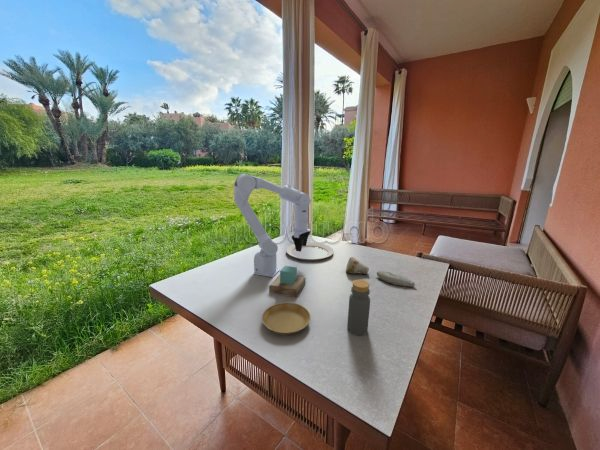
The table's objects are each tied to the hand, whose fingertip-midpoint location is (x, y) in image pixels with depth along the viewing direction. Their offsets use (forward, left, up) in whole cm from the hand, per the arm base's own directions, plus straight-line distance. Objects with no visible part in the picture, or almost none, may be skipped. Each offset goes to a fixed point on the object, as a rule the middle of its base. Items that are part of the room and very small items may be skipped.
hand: (301, 248), depth 112 cm
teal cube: (+1, -20, -6) cm, 21 cm away
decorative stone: (+41, -1, -10) cm, 42 cm away
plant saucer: (+8, -40, -10) cm, 42 cm away
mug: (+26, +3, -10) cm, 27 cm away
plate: (-1, +19, -10) cm, 21 cm away
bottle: (+29, -36, -10) cm, 47 cm away
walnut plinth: (+1, -20, -9) cm, 22 cm away
